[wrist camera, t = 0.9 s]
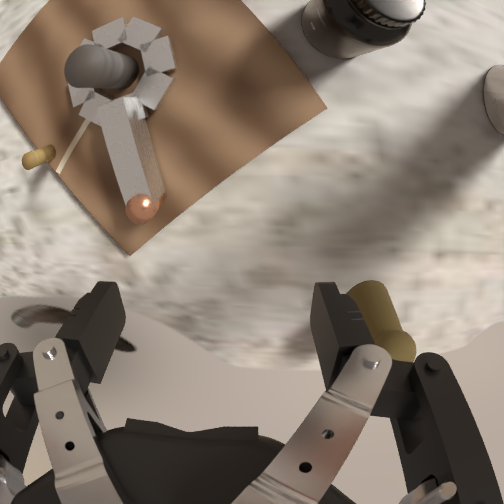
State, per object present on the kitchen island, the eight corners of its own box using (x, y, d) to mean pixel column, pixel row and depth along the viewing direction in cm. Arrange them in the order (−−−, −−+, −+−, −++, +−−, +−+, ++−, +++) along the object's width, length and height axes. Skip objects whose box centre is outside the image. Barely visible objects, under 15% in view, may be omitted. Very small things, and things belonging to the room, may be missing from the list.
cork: (387, 312, 37) (420, 373, 27) (344, 324, 37) (369, 391, 27) (387, 274, 34) (428, 336, 24) (340, 287, 34) (370, 355, 25)
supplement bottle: (293, -3, 20) (324, -59, 9) (362, -2, 19) (423, -44, 9) (307, 61, 23) (351, 36, 12) (375, 59, 23) (449, 45, 12)
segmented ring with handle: (66, 48, 19) (41, 43, 15) (163, 6, 18) (149, -10, 15) (112, 218, 28) (94, 237, 24) (208, 193, 27) (202, 210, 23)
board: (150, -75, 14) (124, -115, 6) (323, 107, 25) (357, 111, 17) (-3, 79, 21) (-56, 86, 13) (134, 249, 31) (104, 298, 23)
